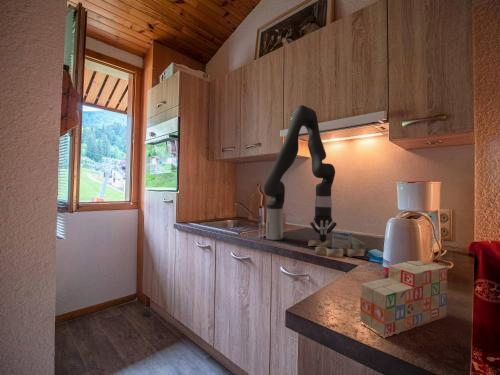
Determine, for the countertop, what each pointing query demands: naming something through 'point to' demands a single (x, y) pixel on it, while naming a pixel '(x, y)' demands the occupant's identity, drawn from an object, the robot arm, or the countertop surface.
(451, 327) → the countertop surface
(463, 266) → the countertop surface
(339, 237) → the medicine box
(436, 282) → the stack of blocks
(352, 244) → the frame
